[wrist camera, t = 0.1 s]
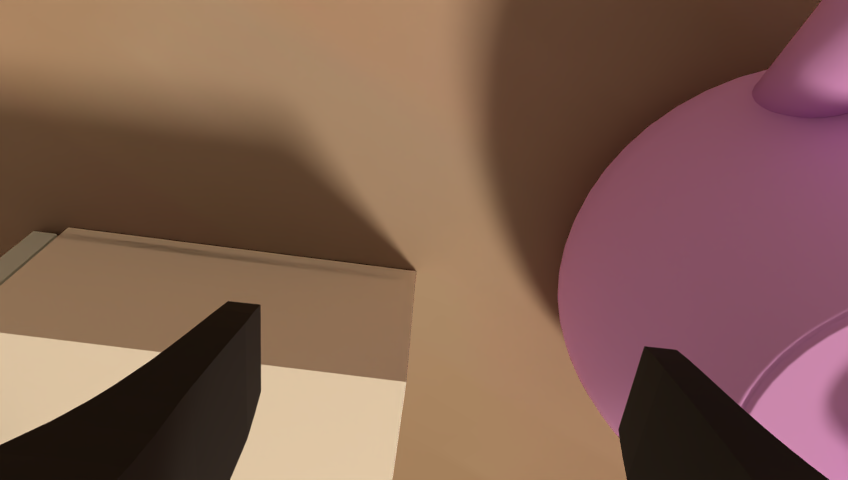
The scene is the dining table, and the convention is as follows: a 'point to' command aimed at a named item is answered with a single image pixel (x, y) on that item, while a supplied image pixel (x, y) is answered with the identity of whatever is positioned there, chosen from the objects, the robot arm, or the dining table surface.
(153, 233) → the dining table surface
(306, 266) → the carton
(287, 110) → the dining table surface
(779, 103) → the teapot
